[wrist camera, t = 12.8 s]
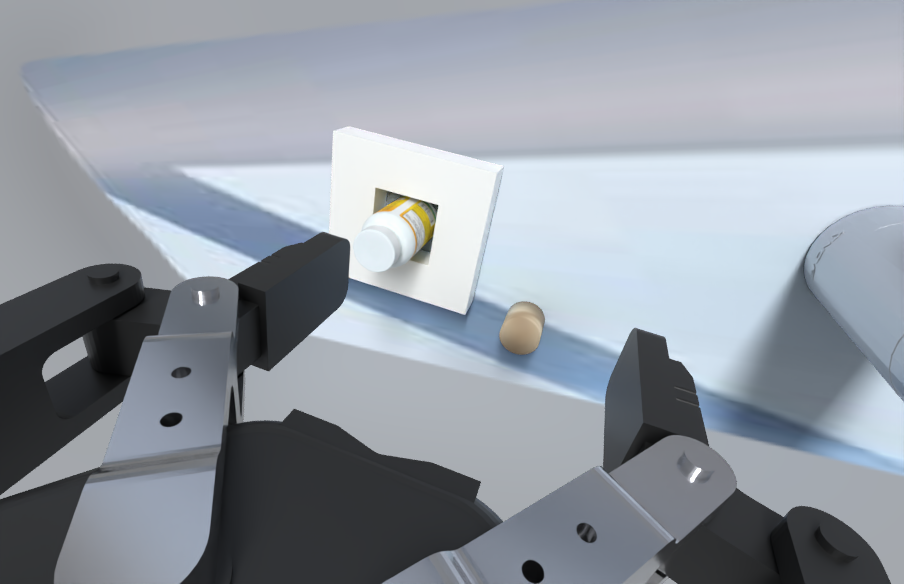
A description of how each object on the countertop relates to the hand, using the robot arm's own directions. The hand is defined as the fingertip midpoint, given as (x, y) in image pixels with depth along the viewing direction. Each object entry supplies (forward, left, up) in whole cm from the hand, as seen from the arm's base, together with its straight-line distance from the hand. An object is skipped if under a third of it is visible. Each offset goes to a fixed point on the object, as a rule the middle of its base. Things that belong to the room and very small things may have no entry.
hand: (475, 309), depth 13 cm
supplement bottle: (+13, +11, -32) cm, 36 cm away
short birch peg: (-1, +19, -32) cm, 37 cm away
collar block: (+13, +11, -32) cm, 36 cm away
